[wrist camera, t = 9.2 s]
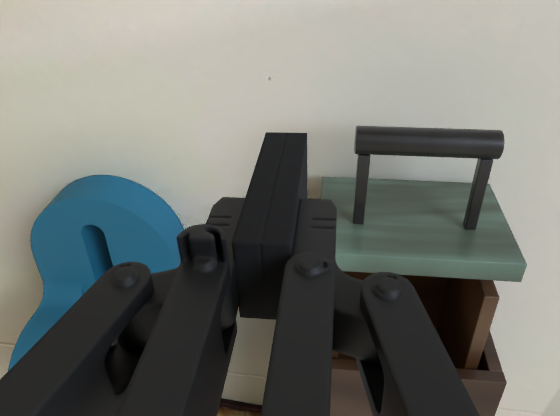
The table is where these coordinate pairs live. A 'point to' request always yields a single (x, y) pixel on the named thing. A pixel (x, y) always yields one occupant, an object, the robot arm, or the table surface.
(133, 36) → the table surface
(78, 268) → the camera mount
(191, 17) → the table surface
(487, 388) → the cabinet
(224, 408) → the book
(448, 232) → the drawer
